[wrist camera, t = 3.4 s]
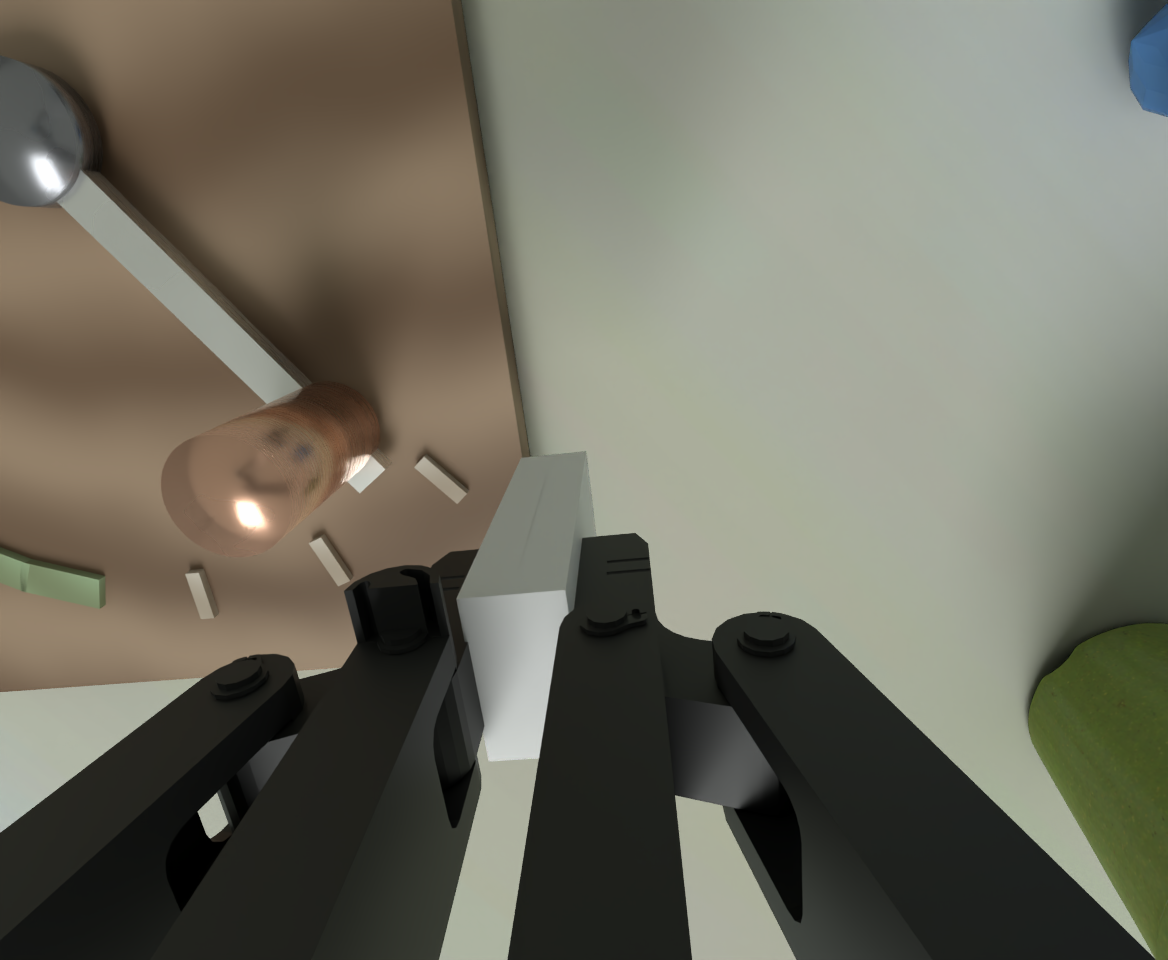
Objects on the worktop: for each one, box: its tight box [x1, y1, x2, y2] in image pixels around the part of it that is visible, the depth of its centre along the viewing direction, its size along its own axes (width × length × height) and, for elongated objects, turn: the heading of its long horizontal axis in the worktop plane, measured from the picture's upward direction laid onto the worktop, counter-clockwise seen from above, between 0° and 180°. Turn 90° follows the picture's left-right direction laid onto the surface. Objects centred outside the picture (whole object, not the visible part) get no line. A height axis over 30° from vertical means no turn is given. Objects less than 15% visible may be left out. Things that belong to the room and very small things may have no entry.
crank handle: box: [0, 55, 393, 557], centre depth 17 cm, size 15×4×6 cm, turn 42°
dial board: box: [0, 0, 530, 692], centre depth 21 cm, size 24×24×2 cm
